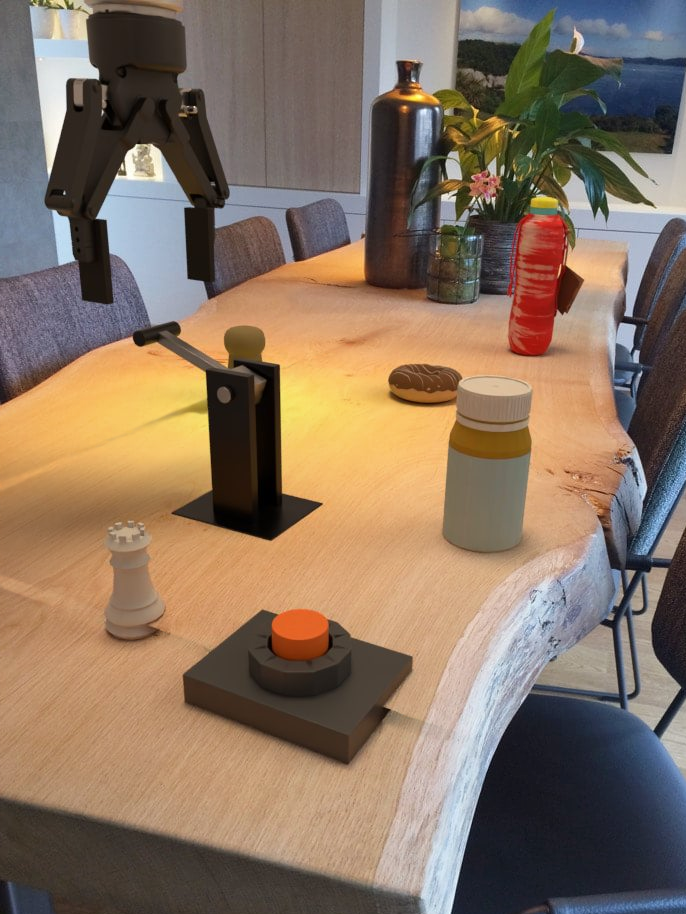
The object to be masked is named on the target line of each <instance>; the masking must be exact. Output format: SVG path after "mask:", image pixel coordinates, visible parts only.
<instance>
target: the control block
mask: <svg viewBox="0 0 686 914" xmlns="http://www.w3.org/2000/svg"><path fill="white" fill-rule="evenodd" d="M279 614H280V613H276V612H272V611H269V610H265V609H261V610H259V611H258V612H257V613H256V614H254V615H253V616H252V617H251V618H250V619H249V620H247V621H246V622H245V623H243V624H242V625H241V626H240V627H239V628H237V629H236V630H235V631H234V632H233V633H231V634H230V635H229V636H228V637H226V638H225V639H224V640H223V641H222V642H221V643H219V644H218V645H216V647H214V648H213V649H212V650H211V651H209V652H208V653H207V654H206V655H205V656H203V657H202V658H201V659H200V660H199V661H197V662H196V663H195V664H193V665H192V666H191V667H190V668H188V669H187V670H186V671H185V672H184V673H182V685H183V699H184V703H186V704H190V705H192V706H194V707H197V708H199V709H202V710H205V711H206V712H210V713H213V714H216V715H217V716H220V717H223V718H226V719H228V720H230V721H233V722H236V723H239V724H241V725H243V726H246V727H250V728H252V729H254V730H257V731H260V732H262V733H265V734H267V735H270V736H273V737H274V738H278V739H280V740H283V741H285V742H288V743H291V744H293V745H296V746H298V747H301V748H304V749H306V750H308V751H312V752H314V753H317V754H320V755H322V756H324V757H327V758H330V759H332V760H335V761H337V762H339V763H340V762H341V763H343V764H346V765H349V764H350V763H351V762H352V760H353V759H354V757H356V755H357V754H358V752H359V751H360V750H361V749H362V747H363V746H364V745H365V743H366V742H367V741H368V739H370V737H371V736H372V735H373V733H374V732H375V731H376V730H377V728H378V727H379V726H380V724H381V723H383V720H384V719H385V718H386V716H388V714H389V713H390V712H391V710H392V709H391V708H389V707H386V706H385V705H386V704H387V702H388V701H389V700H390V698H391V697H392V696H393V694H394V693H395V692H396V691H397V689H398V688H399V687H400V686H401V684H402V683H403V682H404V681H405V680H406V678H407V677H408V675H409V674H411V672H412V671H413V664H414V663H413V661H414V657H413V656H412V655H410V654H406V653H404V652H400V651H397V650H394V649H390V648H387V647H383V646H380V645H377V644H374V643H371V642H368V641H364V640H361V639H358V638H355V637H352V636H351V633H350V632H349V631H348V630H346V628H345V627H343V626H342V625H341V624H340V623H339V622H338V621H335V620H332V619H329V618H327V620H328V623H329V641H328V650H327V652H326V653H325V654H324V655H323V656H321V657H318V658H315V659H312V660H309V661H288V660H285V659H282V658H280V657H277V656H276V655H275V654H274V652H273V650H272V622H273V620H274V618H275V617H276V616H278V615H279Z"/></svg>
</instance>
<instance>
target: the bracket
mask: <svg viewBox="0 0 686 914" xmlns="http://www.w3.org/2000/svg"><path fill="white" fill-rule="evenodd" d="M241 365H243V366H245V367H246V368H248V369H250V370H251V371H253V372H254V373H256V374H258V375H259V376H261V377H263V378H264V379H266V380H267V382H266V385H265V388H264V391H263V394H262V397H261V401H260V403H258V404H256V405H255V382H254V375H253V374H247V373H242V372H236V371H230V370H225V369H219V368H214V367H212V368H209V369H206V372H205V385H206V387H205V388H206V405H207V420H208V421H207V422H208V440H209V441H208V442H209V443H208V444H209V456H210V457H209V458H210V459H209V460H210V478H211V489H210V490H209V491H207V492H205V493H204V494H201V495H200V496H198V497H196V498H194V499H193V500H191V501H189V502H187V503H185V504H184V505H182V506H180V507H178V508H177V509H174V510H173V511H171V512H170V515H174V516H177V517H181V518H185V519H189V520H191V521H196V522H199V523H203V524H207V525H210V526H214V527H217V528H221V529H225V530H228V531H233V532H236V533H240V534H243V535H247V536H251V537H255V538H257V539H261V540H266V541H269V542H273V541H274V540H275V539H276V538H278V537H279V536H281V535H282V534H284V533H285V532H286V531H288V530H289V529H291V528H292V527H294V526H295V525H296V524H298V523H299V522H300V521H301V520H303V519H304V518H306V517H307V516H309V515H310V514H311V513H313V512H315V511H316V510H317V509H319V508H320V507H321V506H323V505H324V503H323V502H319V501H316V500H312V499H308V498H303V497H299V496H296V495H291V494H287V493H283V467H282V465H283V464H282V463H283V461H282V458H283V457H282V456H283V455H282V409H281V408H282V407H281V406H282V404H281V401H282V399H281V364H279V363H273V362H267V361H263V360H262V361H256V360H250V359H245V358H237V359H234V360H233V366H234V368H236V367H239V366H241Z"/></svg>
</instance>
